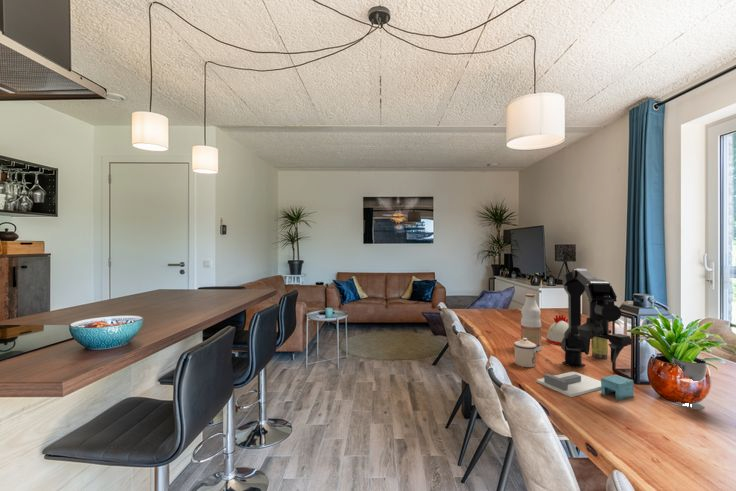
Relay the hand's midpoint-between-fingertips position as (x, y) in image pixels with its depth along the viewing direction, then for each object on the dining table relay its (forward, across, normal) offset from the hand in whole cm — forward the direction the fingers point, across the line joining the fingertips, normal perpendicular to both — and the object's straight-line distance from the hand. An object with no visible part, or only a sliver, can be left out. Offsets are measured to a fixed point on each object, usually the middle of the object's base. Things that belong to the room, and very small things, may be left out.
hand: (599, 358), depth 119 cm
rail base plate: (+12, -8, -3) cm, 14 cm away
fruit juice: (+12, -46, +17) cm, 51 cm away
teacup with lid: (+12, -32, -2) cm, 34 cm away
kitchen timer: (+12, -49, +42) cm, 66 cm away
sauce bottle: (+12, -25, +37) cm, 46 cm away
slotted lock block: (+12, +4, +3) cm, 13 cm away
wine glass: (+12, +18, +17) cm, 28 cm away
